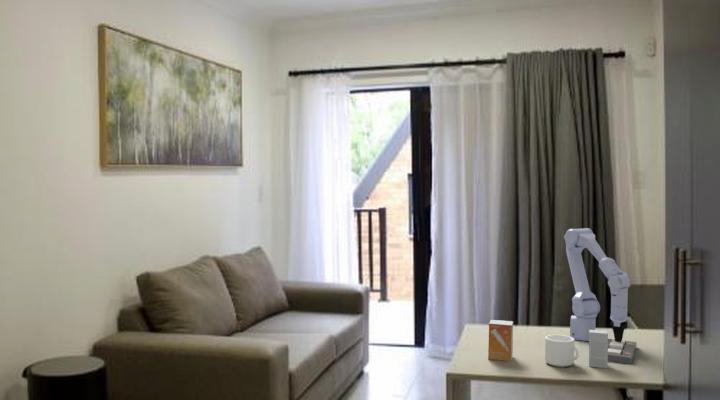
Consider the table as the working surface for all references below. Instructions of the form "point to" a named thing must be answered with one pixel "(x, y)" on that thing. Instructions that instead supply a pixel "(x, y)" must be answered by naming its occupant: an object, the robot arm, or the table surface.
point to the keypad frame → (623, 353)
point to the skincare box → (598, 348)
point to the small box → (500, 340)
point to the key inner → (619, 342)
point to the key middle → (616, 345)
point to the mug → (560, 350)
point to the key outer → (614, 351)
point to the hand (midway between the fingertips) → (618, 341)
